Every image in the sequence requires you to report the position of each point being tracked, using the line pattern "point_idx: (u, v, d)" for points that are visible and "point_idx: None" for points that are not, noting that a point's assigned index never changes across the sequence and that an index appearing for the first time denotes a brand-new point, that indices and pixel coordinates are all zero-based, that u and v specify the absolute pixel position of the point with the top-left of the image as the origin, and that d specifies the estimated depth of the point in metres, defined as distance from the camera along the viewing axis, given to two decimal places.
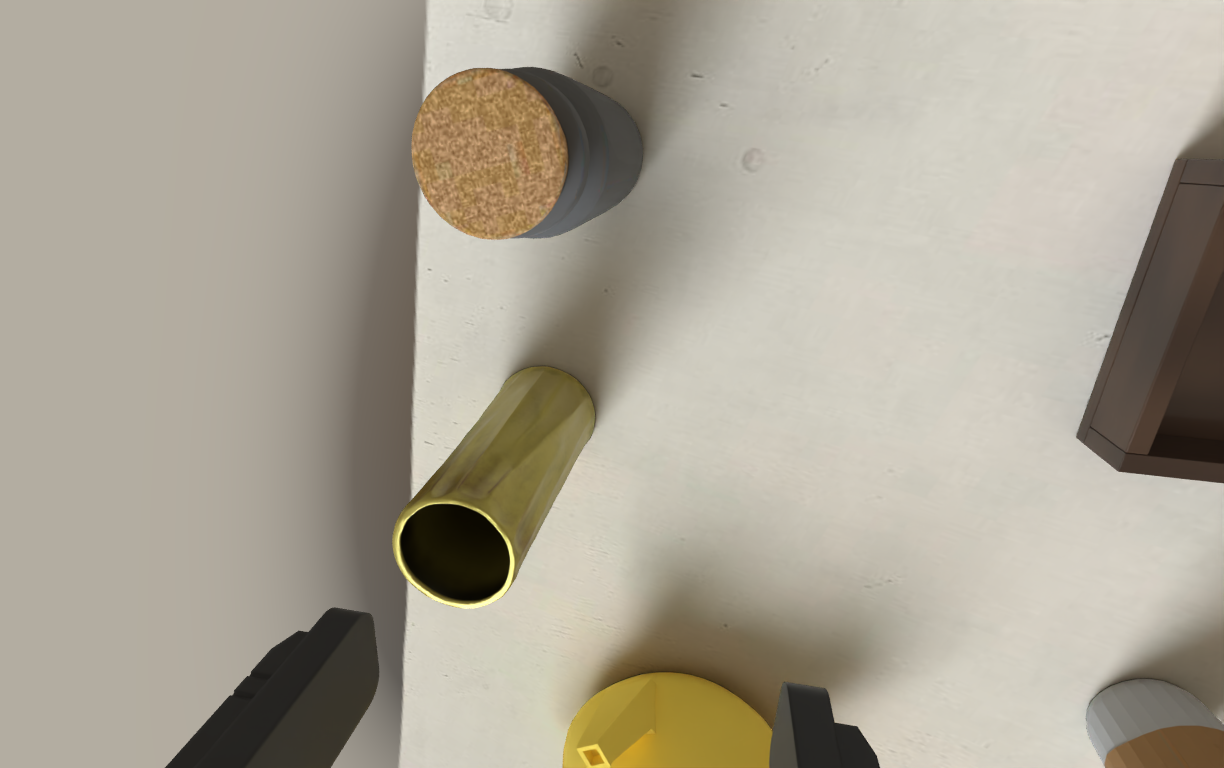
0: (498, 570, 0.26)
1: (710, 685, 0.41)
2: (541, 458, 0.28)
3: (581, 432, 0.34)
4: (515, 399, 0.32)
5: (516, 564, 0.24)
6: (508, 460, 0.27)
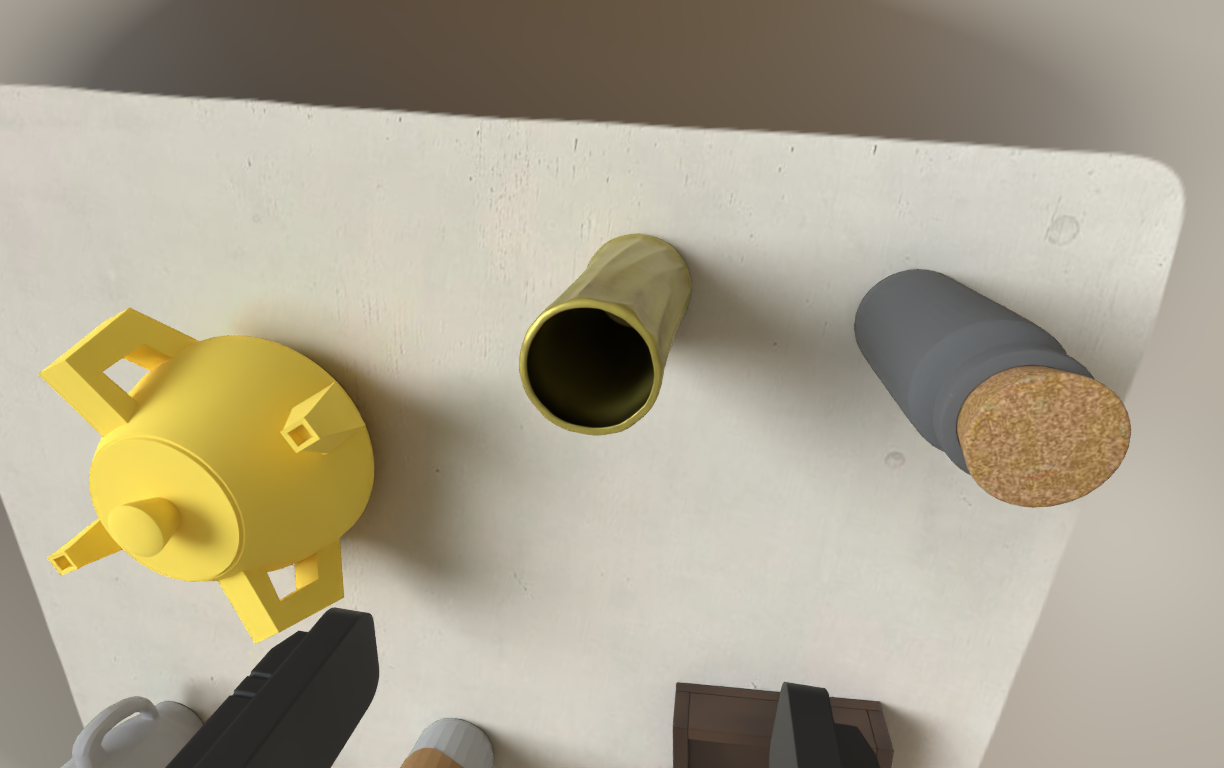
0: (550, 381, 0.24)
1: (373, 473, 0.40)
2: None
3: None
4: (680, 297, 0.30)
5: (591, 434, 0.23)
6: None
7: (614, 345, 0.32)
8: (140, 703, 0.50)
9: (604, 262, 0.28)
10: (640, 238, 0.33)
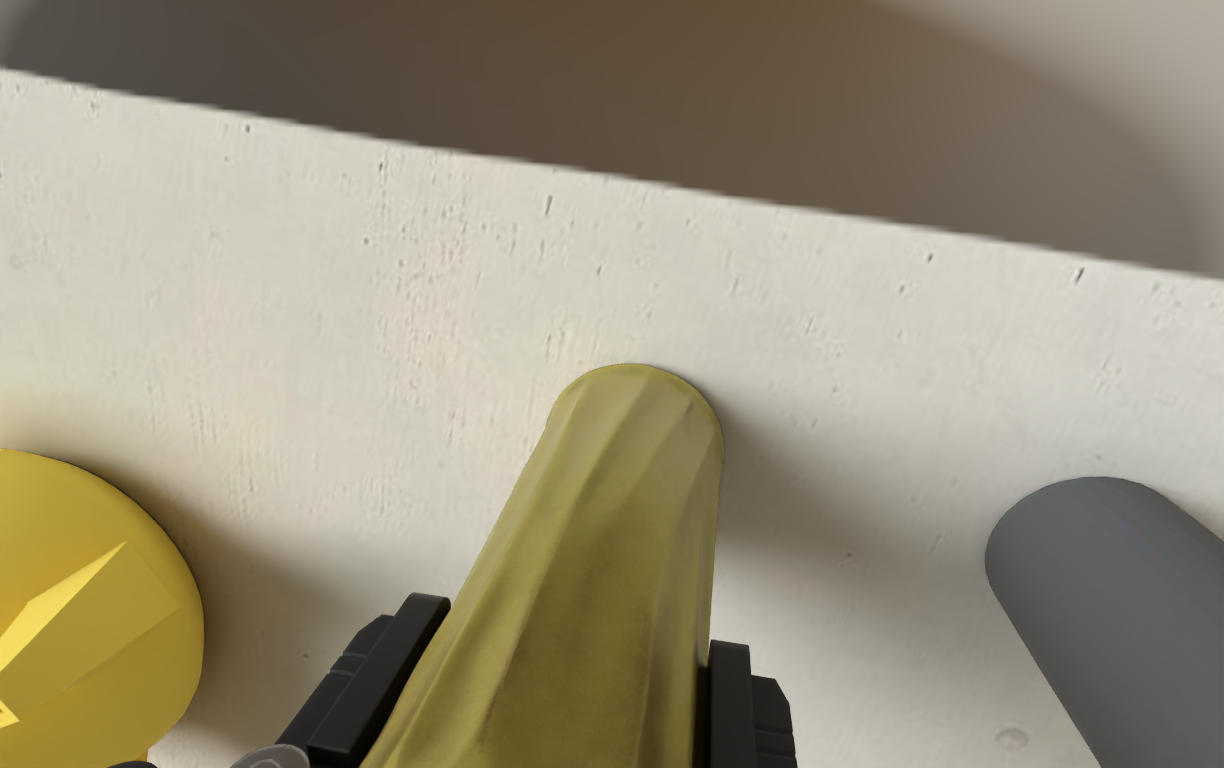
0: None
1: (201, 662, 0.26)
2: None
3: None
4: (712, 518, 0.16)
5: None
6: None
7: None
8: None
9: (576, 470, 0.14)
10: (646, 378, 0.19)
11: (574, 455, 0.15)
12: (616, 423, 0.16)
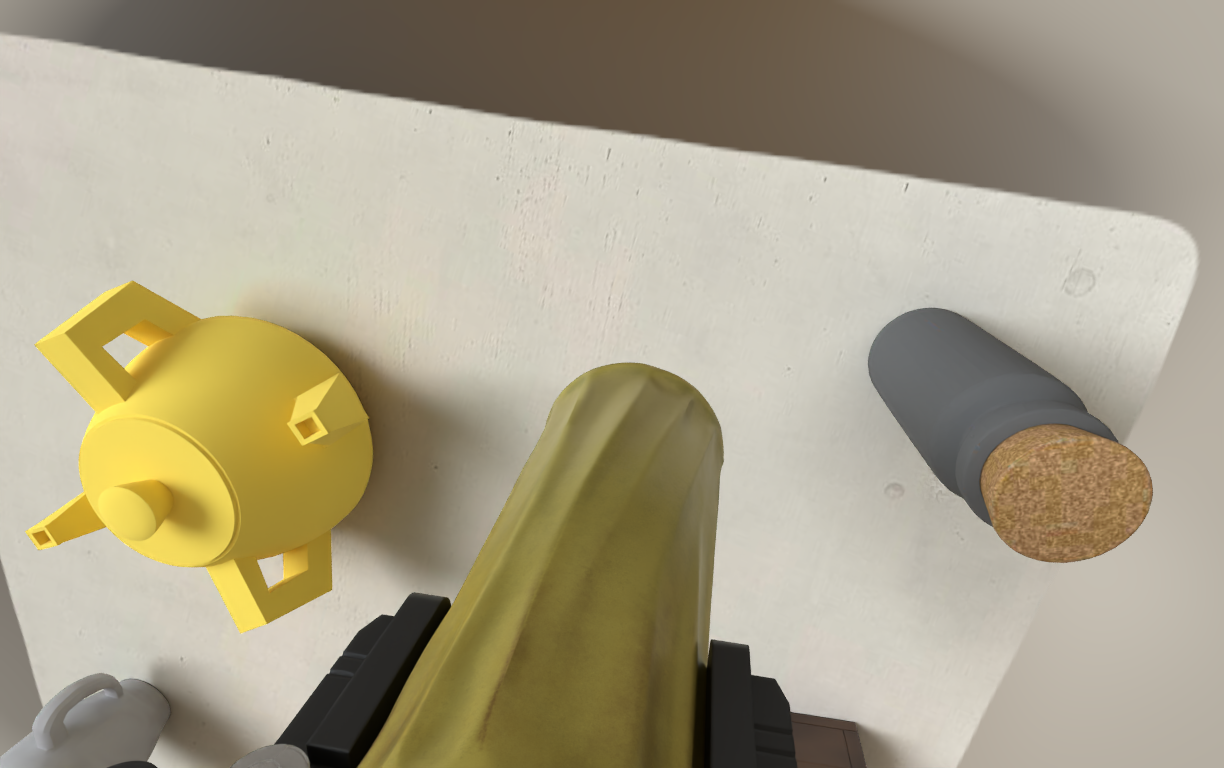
0: None
1: (371, 466, 0.40)
2: None
3: None
4: (712, 516, 0.16)
5: None
6: None
7: None
8: (105, 680, 0.49)
9: (576, 469, 0.14)
10: (646, 377, 0.19)
11: (574, 454, 0.15)
12: (616, 422, 0.16)
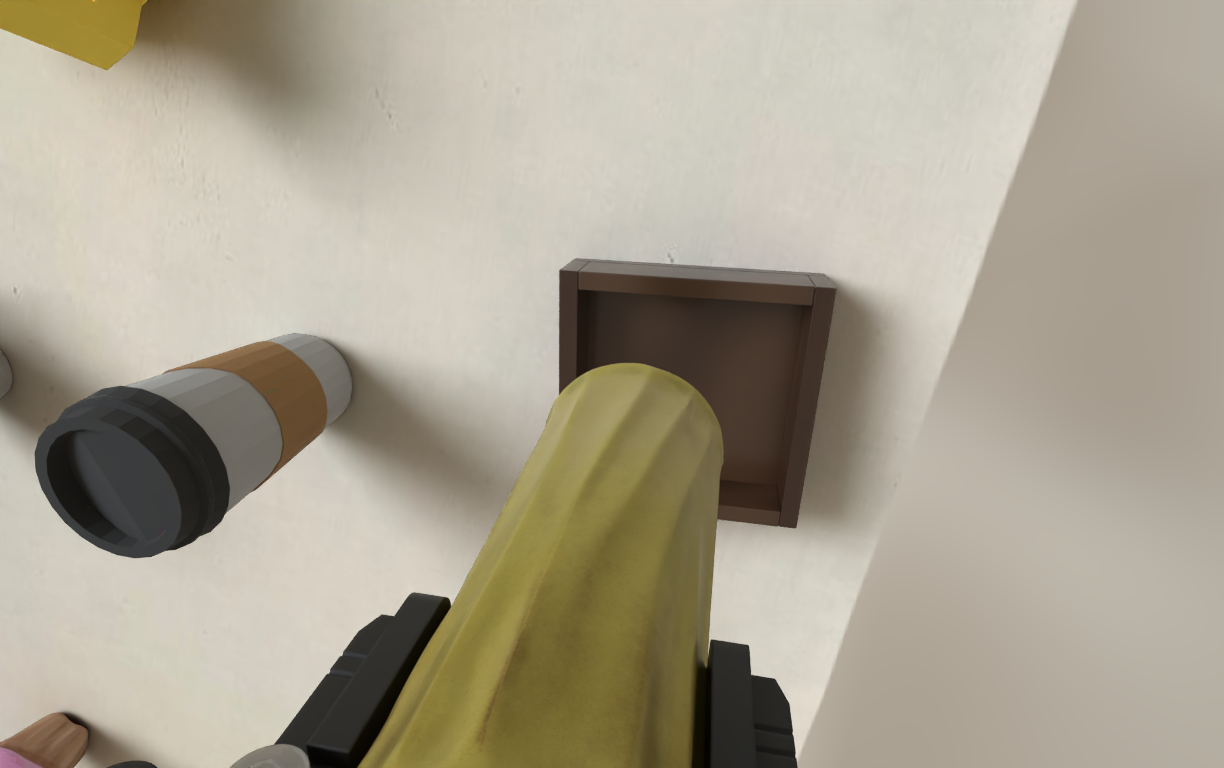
0: None
1: None
2: None
3: None
4: (712, 517, 0.16)
5: None
6: None
7: None
8: None
9: (575, 470, 0.14)
10: (646, 377, 0.19)
11: (574, 454, 0.15)
12: (616, 422, 0.16)
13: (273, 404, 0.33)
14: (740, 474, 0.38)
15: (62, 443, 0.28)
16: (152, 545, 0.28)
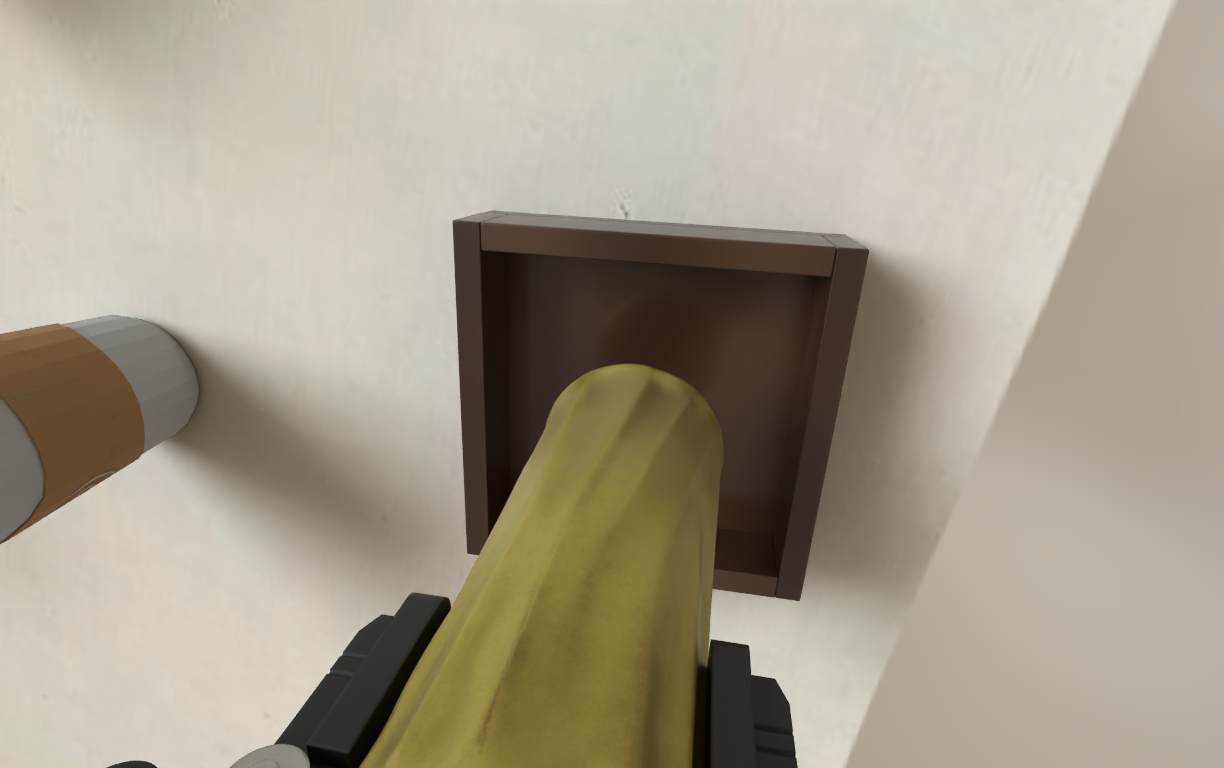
0: None
1: None
2: None
3: None
4: (712, 518, 0.16)
5: None
6: None
7: None
8: None
9: (576, 471, 0.14)
10: (646, 378, 0.19)
11: (574, 455, 0.15)
12: (616, 423, 0.16)
13: (26, 416, 0.22)
14: (722, 518, 0.27)
15: None
16: None
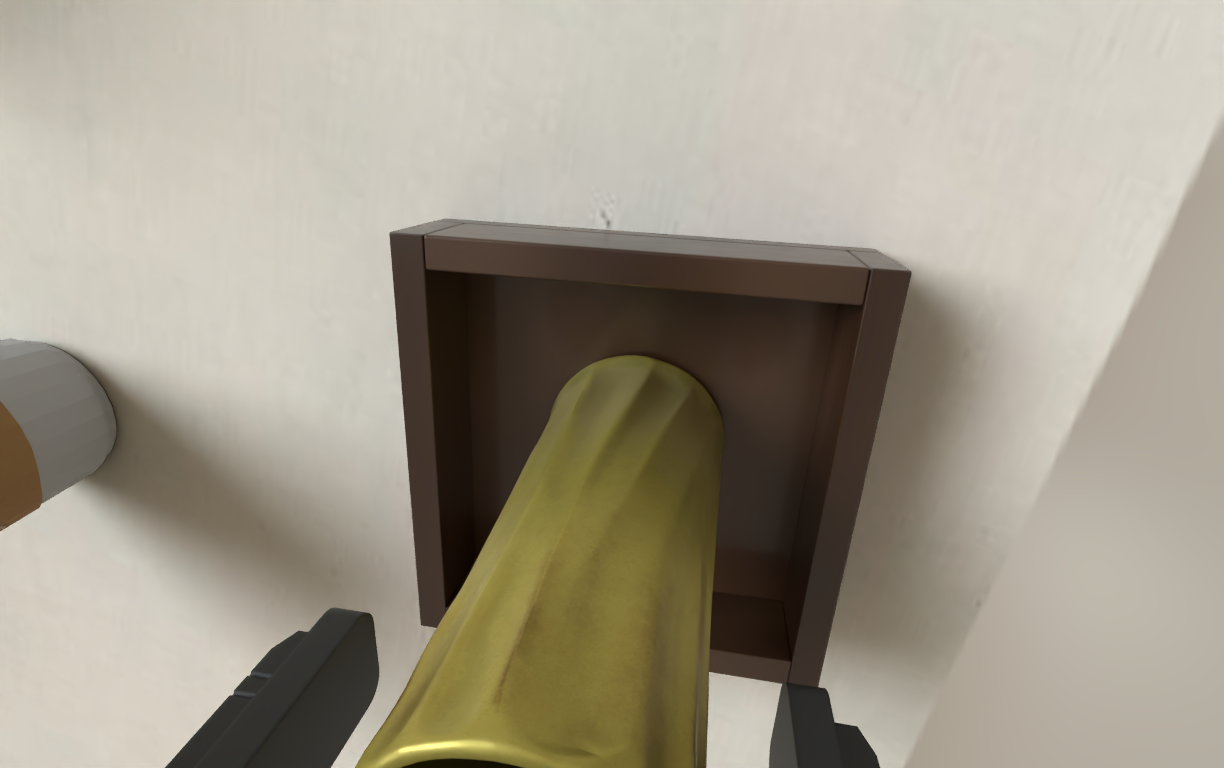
0: None
1: None
2: None
3: None
4: (713, 504, 0.17)
5: None
6: None
7: None
8: None
9: (581, 456, 0.15)
10: (649, 369, 0.19)
11: (579, 442, 0.15)
12: (620, 411, 0.16)
13: None
14: (723, 581, 0.23)
15: None
16: None
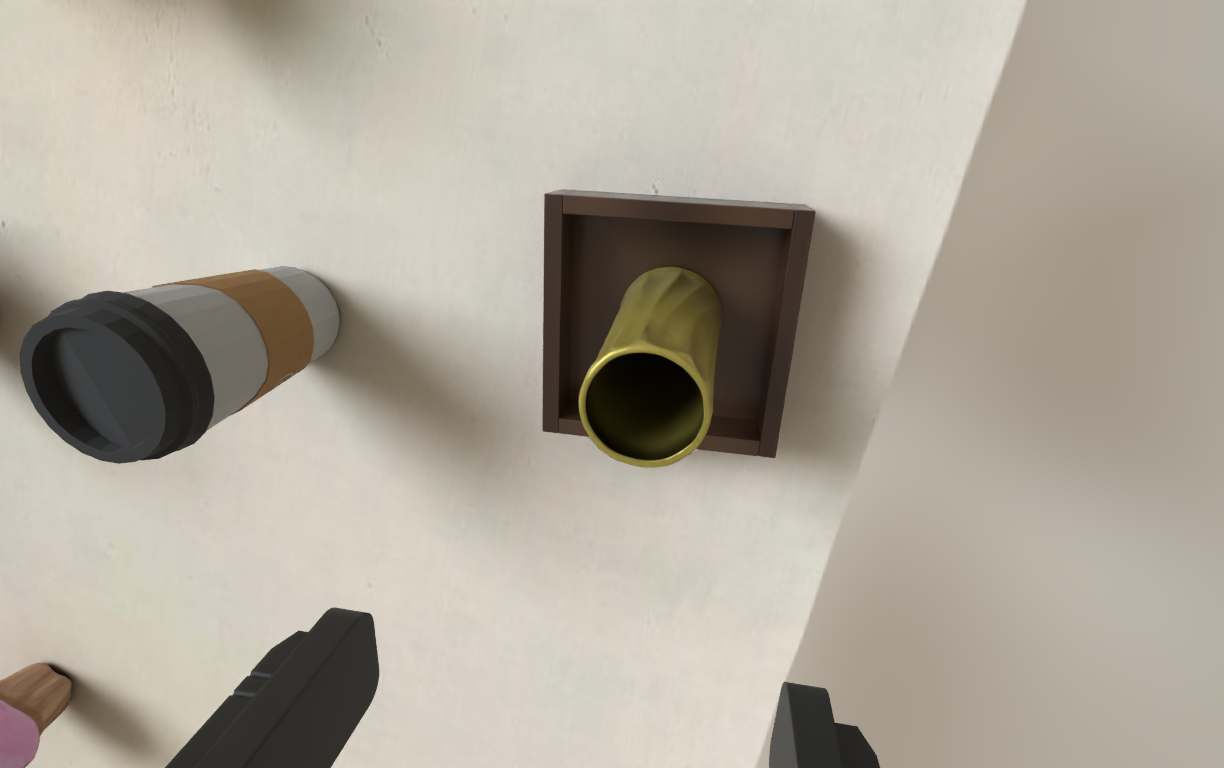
0: (600, 411, 0.26)
1: None
2: None
3: None
4: (715, 334, 0.32)
5: (638, 466, 0.25)
6: None
7: (648, 372, 0.34)
8: None
9: (652, 299, 0.30)
10: (679, 272, 0.35)
11: (649, 296, 0.31)
12: (667, 285, 0.32)
13: (259, 324, 0.33)
14: (721, 409, 0.38)
15: (47, 345, 0.28)
16: (136, 449, 0.29)
